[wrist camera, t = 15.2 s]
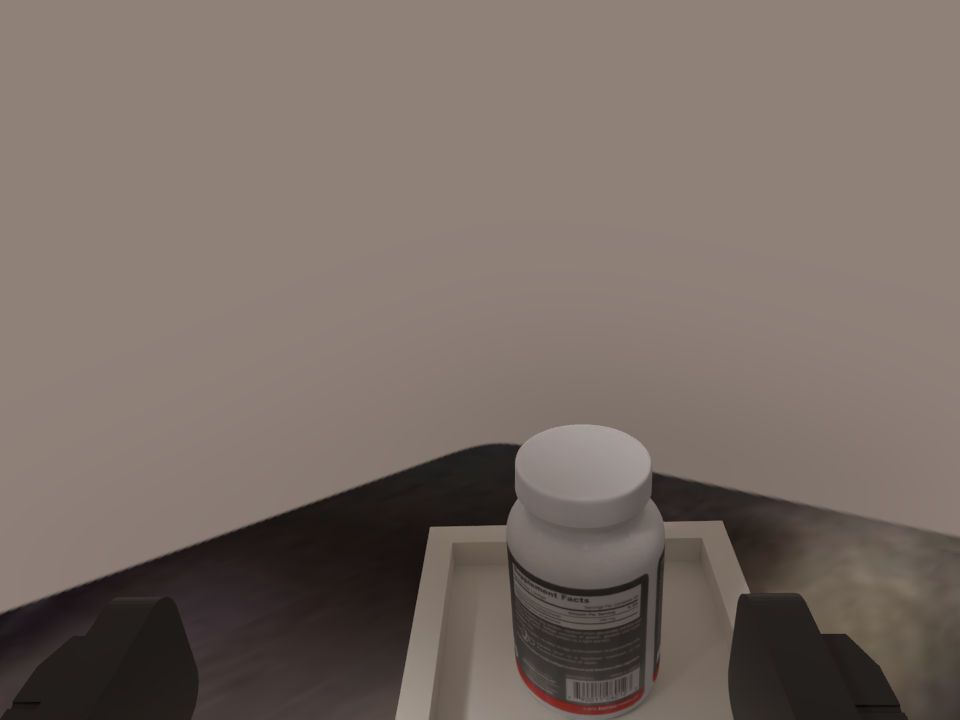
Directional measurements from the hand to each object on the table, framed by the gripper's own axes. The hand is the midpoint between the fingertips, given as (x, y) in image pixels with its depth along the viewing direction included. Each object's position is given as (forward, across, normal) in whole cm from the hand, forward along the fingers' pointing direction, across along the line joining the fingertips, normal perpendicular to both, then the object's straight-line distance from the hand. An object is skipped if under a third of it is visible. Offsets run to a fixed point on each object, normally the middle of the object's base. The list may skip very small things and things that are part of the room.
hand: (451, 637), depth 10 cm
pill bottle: (+13, -3, +16) cm, 21 cm away
